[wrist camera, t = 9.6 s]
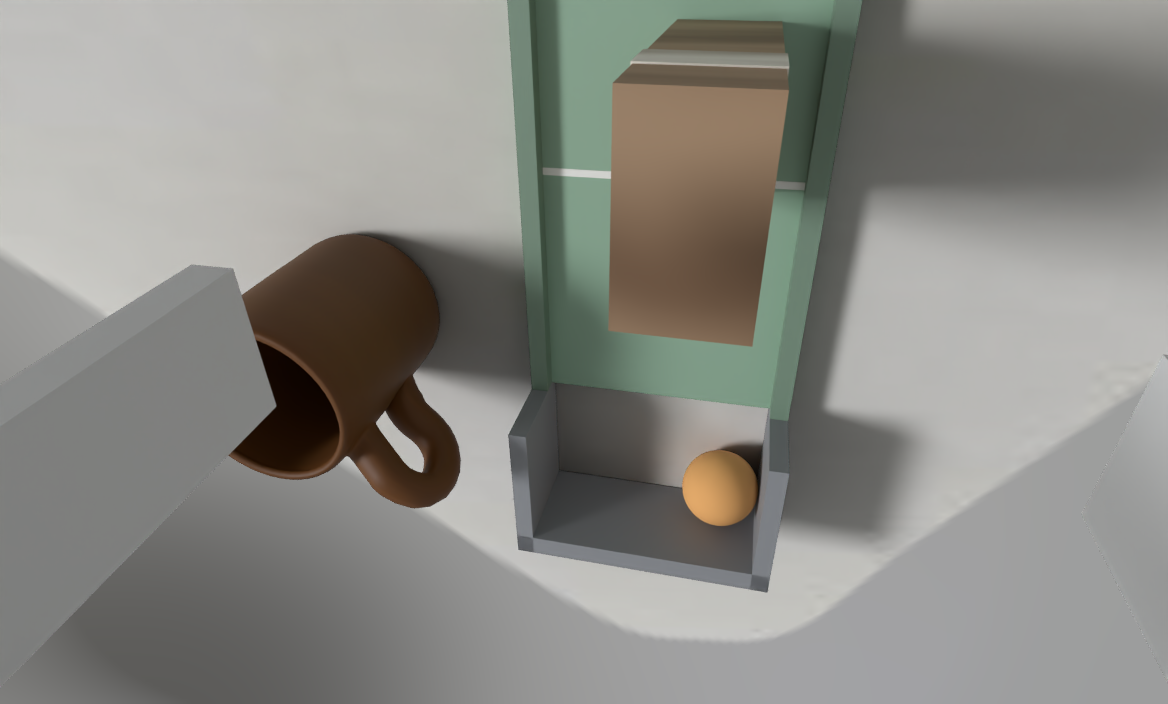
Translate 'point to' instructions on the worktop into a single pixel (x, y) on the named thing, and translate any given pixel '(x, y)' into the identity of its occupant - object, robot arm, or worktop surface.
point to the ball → (720, 488)
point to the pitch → (581, 280)
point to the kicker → (695, 179)
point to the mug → (349, 369)
